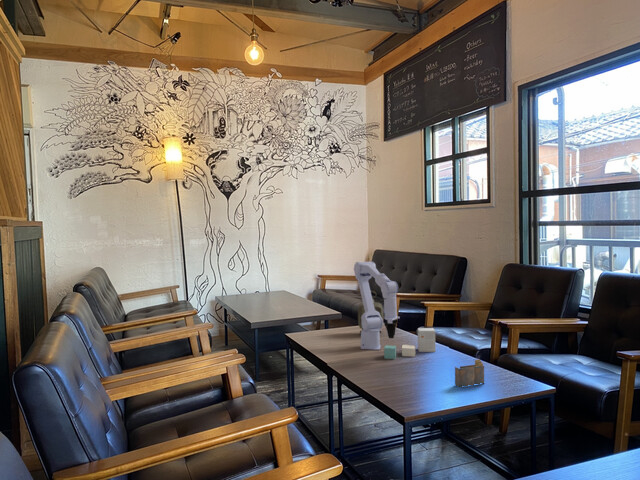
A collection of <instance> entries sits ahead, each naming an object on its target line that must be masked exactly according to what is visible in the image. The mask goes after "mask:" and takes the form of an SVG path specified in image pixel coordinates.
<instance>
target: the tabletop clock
mask: <svg viewBox="0 0 640 480" xmlns="http://www.w3.org/2000/svg"><path fill="white" fill-rule="evenodd" d="M370 291H371V293H374V294H375V296H372V300H373V304H374V308H375V310H376V311H377V312H379V313H380V316H381V318H382V320H383V323H385V322H384V320H385V319H384V317H385V313H384V308H383V304H382V303H380V302H375V299H374V298H376V297H377V293H376V291H375V290H370ZM357 308H358V309H357V321H358V327H359V328H360V329H361V330H364V329H363V328H362V324H361V322H362V320H361V316H362V315H363V314H364V313H365V310H364V305H363V302H361V303H359V305H358V307H357ZM361 330H359V333H360V334H361ZM380 334H382V331H381V330H380Z"/></svg>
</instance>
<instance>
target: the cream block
mask: <svg viewBox="0 0 640 480" xmlns="http://www.w3.org/2000/svg"><path fill="white" fill-rule="evenodd" d="M401 356H402V357H416V345H413V344H402V347H401Z"/></svg>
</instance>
